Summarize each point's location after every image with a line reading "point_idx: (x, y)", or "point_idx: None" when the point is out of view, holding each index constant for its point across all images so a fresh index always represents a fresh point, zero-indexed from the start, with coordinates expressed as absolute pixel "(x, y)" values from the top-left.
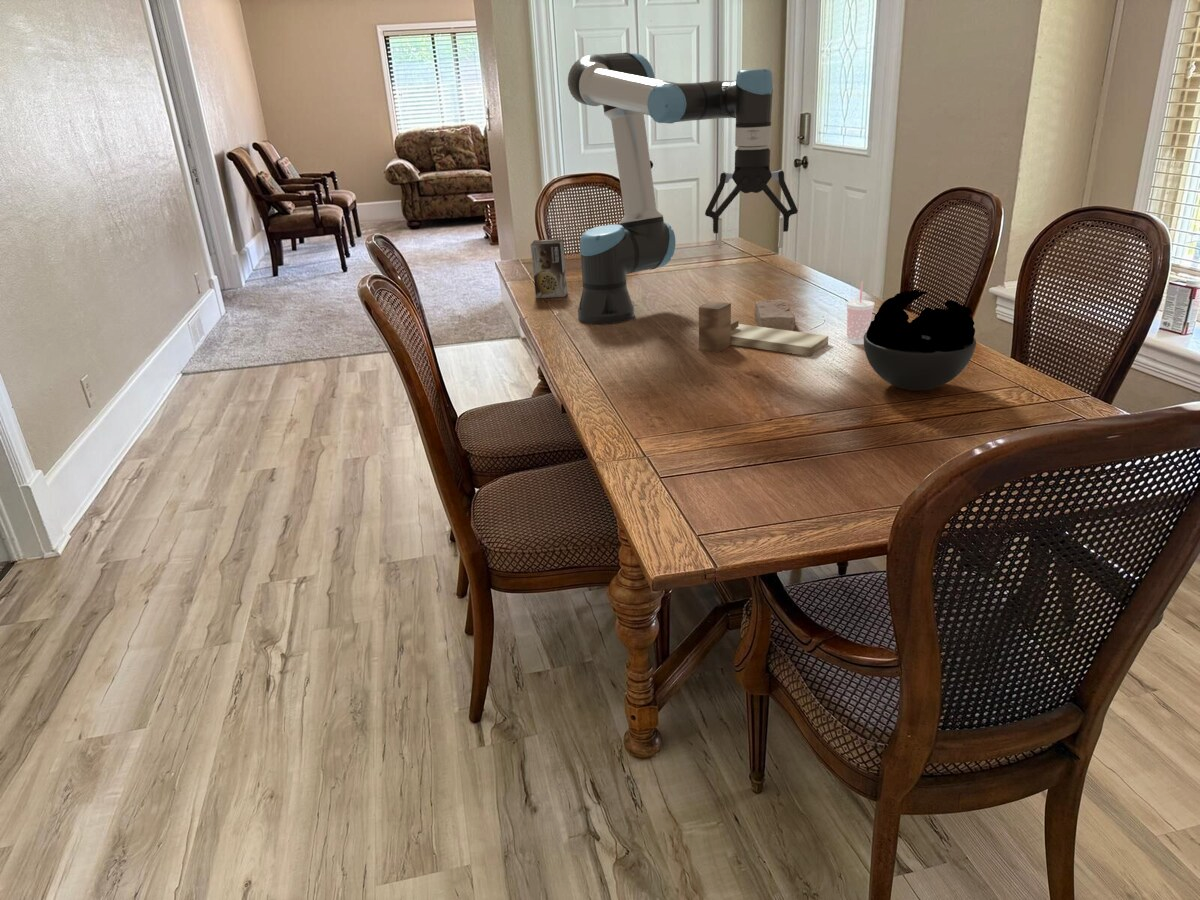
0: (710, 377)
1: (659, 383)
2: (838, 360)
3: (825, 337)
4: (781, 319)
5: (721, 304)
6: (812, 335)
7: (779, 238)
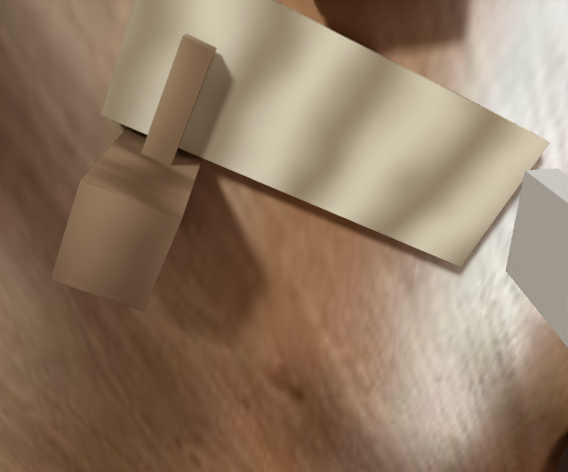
0: (188, 404)
1: (79, 441)
2: None
3: (533, 163)
4: None
5: (141, 239)
6: (495, 140)
7: (545, 316)
